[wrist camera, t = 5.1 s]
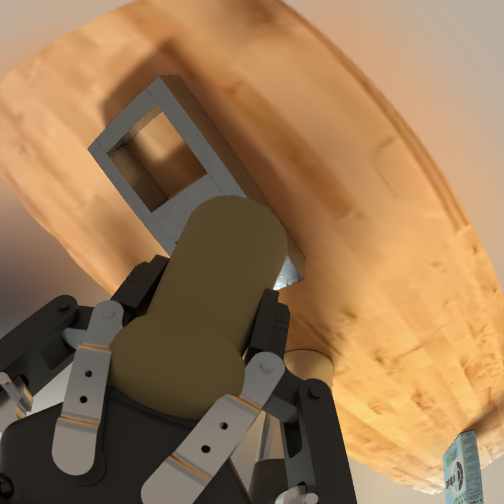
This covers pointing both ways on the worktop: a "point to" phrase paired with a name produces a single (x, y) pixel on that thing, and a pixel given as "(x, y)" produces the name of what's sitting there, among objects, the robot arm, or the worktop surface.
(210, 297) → the cork
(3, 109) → the worktop surface
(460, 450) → the gum box
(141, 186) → the cinder block
